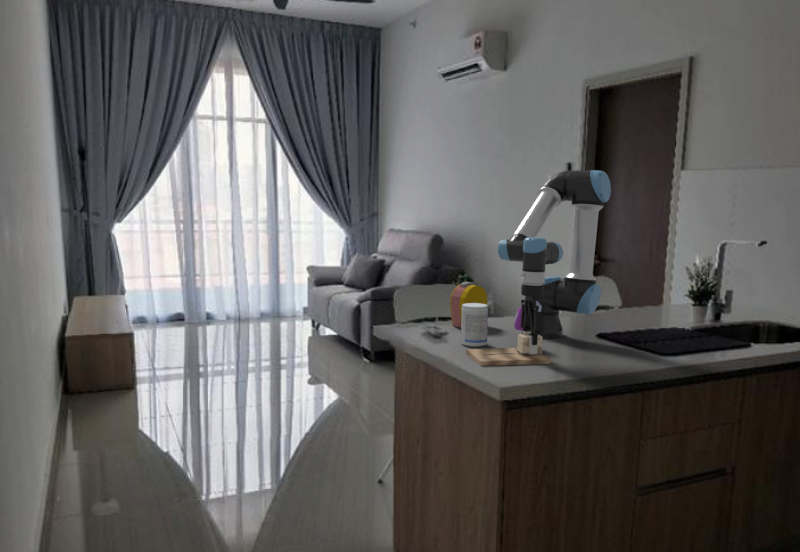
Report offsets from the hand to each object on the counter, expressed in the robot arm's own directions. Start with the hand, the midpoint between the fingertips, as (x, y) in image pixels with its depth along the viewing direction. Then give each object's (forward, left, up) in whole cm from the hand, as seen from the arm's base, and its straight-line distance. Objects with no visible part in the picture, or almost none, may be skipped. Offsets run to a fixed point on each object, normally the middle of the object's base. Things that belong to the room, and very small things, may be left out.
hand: (529, 352), depth 213 cm
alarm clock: (+5, -54, -2) cm, 54 cm away
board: (+8, 0, -2) cm, 8 cm away
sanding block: (0, 0, 0) cm, 0 cm away
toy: (-4, -16, -2) cm, 17 cm away
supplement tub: (+13, -21, -2) cm, 25 cm away
